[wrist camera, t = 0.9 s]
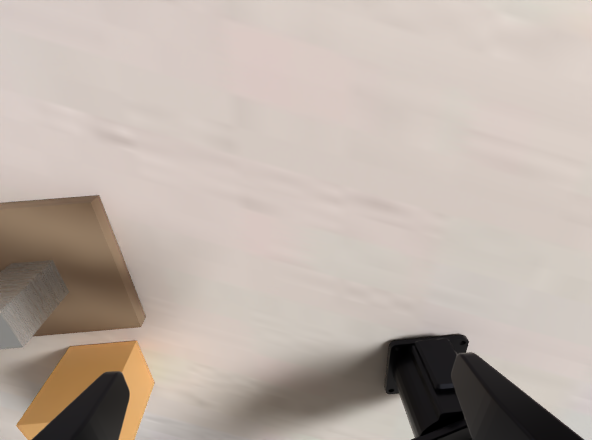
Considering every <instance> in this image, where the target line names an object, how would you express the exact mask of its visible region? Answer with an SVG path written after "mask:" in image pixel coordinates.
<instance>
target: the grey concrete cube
mask: <svg viewBox="0 0 592 440" xmlns="http://www.w3.org/2000/svg"><path fill="white" fill-rule="evenodd" d="M68 293H69V291H68V289H67V287H66V285H65V283H64V281H63V279H62V277H61V275H60V273H59V271H58V269H57V267H56V265H55V263H54V262H53V260H49V261H36V262H24V263H12V264H10V265H9V266H7V267H6V268H5V269H4V270H3V271H1V272H0V349H9V348H21V347H24V346H25V345H26V343H27V342H28V341H29V340H30V339H31V337H32V336H33V335H34V334H35V333H36V331H37V330H38V329H39V328H40V326H41V325H42V324H43V323H44V322H45V320H46V319H47V318H48V317H49V316H50V314H51V313H52V312H53V311H54V310H55V308H56V307H57V306H58V305H59V304H60V302H61V301H62V300H63V299H64V298H65V296H66V295H67V294H68Z"/></svg>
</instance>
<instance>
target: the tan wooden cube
mask: <svg viewBox="0 0 592 440" xmlns="http://www.w3.org/2000/svg"><path fill="white" fill-rule="evenodd" d="M111 371H120V372H122V373H123V375H124V378H125V380H126V383H127V385H128V388H129V391H130V398H129V403H128V406H127V410H126V414H125V418H124V422H123V425H122V429H121V433H120V437H119V440H134V439H135V436H136V433H137V430H138V428H139V425H140V422H141V419H142V416H143V414H144V411H145V408H146V405H147V402H148V400H149V397H150V394H151V391H152V388H153V386H154V380H153V378H152V376H151V373H150V371H149V369H148V366H147V364H146V362H145V359H144V357H143V355H142V352H141V350H140V347H139V345H138V343H137V341H128V342H116V343H105V344H93V345H82V346H70V347H69V348H68V350H67V351H66V353H65V354H64V356H63V357H62V359H61V360H60V362H59V363H58V365H57V366H56V368H55V369H54V370H53V372H52V373H51V375H50V376H49V378H48V379H47V381H46V382H45V384H44V385H43V387H42V388H41V390H40V391H39V393H38V394H37V396H36V397H35V398H34V400H33V401H32V403H31V404H30V406H29V407H28V409H27V410H26V412H25V413H24V415H23V416H22V418H21V419H20V421H19V422H18V423H17V425H16V426H17V427H18V429H19V430H20V431H21V432H22V433H23V435H24V436H25V437H26V438H27V439H28V440H32V439H33V438H34V437H35V436H36V435H37V434H38V433H39V432H40V431H41V430H42V429H43V428H44V427H46V426H47V425H48V424H49V423H50V422H51V421H52V420H53V419H54V418H55V417H56V416H57V415H58V414H59V413H61V412H62V411H63V410H64V409H65V408H66V407H67V406H68V405H69V404H70V403H71V402H72V401H73V400H75V399H76V398H77V397H78V396H79V395H80V394H81V393H82V392H83V391H84V390H85V389H86V388H87V387H88V386H90V385H91V384H92V383H93V382H94V381H95V380H96V379H97V378H98V377H99V376H100V375H101V374H103V373H105V372H111Z"/></svg>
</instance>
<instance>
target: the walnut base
mask: <svg viewBox="0 0 592 440" xmlns="http://www.w3.org/2000/svg"><path fill="white" fill-rule="evenodd" d="M49 260H53V262H54V263H55V265H56V267H57V269H58V271H59V273H60V275H61V277H62V279H63V281H64V283H65V285H66V287H67V289H68V291H69V293H68V294H67V295H66V296H65V298H64V299H63V300H62V301H61V302H60V304H59V305H58V306H57V307H56V308H55V310H54V311H53V312H52V313H51V314H50V316H49V317H48V318H47V319H46V320H45V322H44V323H43V324H42V325H41V326H40V328H39V329H38V330H37V331H36V333H35V334H34V335H33V336H43V335H54V334H66V333H77V332H89V331H101V330H112V329H124V328H135V327H141V326H142V324H143V322H144V320H145V318H146V316H145V313H144V311H143V308H142V306H141V303H140V300H139V298H138V295H137V293H136V290H135V287H134V285H133V282H132V280H131V277H130V274H129V272H128V269H127V267H126V264H125V261H124V259H123V256H122V254H121V251H120V248H119V246H118V243H117V241H116V238H115V236H114V233H113V230H112V228H111V225H110V223H109V220H108V217H107V215H106V212H105V210H104V207H103V204H102V202H101V199H100V197H99V195H97V196H84V197H71V198H58V199H46V200H33V201H20V202H7V203H0V272H1V271H3V270H4V269H5V268H6V267H7V266H9V265H10V264H12V263H24V262H36V261H49Z"/></svg>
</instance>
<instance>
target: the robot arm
mask: <svg viewBox="0 0 592 440" xmlns="http://www.w3.org/2000/svg"><path fill="white" fill-rule="evenodd" d="M468 343H469V341H468V339H467V338H466V336H464V335H455V336H444V337H432V338H421V339H410V340H398V341H393V342H391V343H390V344H389V351H388V360H387V369H386V379H385V390H386V393H387V394H397V393H399V394H400V397H401V400H402V403H403V405H404V408H405V411H406V414H407V417H408V420H409V422H410V425H411V428H412V431H413V434H414V437H415V438H414V439H412V440H584V439H583V438H581V437H580V436H579V435H578V434H576V433H575V432H574V431H573V430H571V429H570V428H569V427H568V426H566V425H565V424H564V423H562V422H561V421H560V420H559V419H557V418H556V417H555V416H554V415H552V414H551V413H550V412H549V411H547V410H546V409H545V408H543V407H542V406H541V405H540V404H538V403H537V402H536V401H535V400H533V399H532V398H531V397H530V396H528V395H527V394H526V393H525V392H523V391H522V390H521V389H519V388H518V387H517V386H516V385H514V384H513V383H512V382H511V381H509V380H508V379H507V378H506V377H504V376H503V375H502V374H500V373H499V372H498V371H497V370H495V369H494V368H493V367H492V366H490V365H489V364H488V363H487V362H485V361H484V360H483V359H482V358H480V357H479V356H478V355H476V354H474V353H471V352H469V353H466V350H467V347H468ZM129 398H130V391H129V388H128V385H127V383H126V380H125V378H124V375H123V373H122V372H120V371H111V372H105V373H103V374H101V375H100V376H99V377H98V378H97V379H96V380H95V381H94V382H93V383H92V384H91V385H90V386H88V387H87V388H86V389H85V390H84V391H83V392H82V393H81V394H80V395H79V396H78V397H77V398H76V399H75V400H73V401H72V402H71V403H70V404H69V405H68V406H67V407H66V408H65V409H64V410H63V411H62V412H61V413H59V414H58V415H57V416H56V417H55V418H54V419H53V420H52V421H51V422H50V423H49V424H48V425H47V426H46V427H44V428H43V429H42V430H41V431H40V432H39V433H38V434H37V435H36V436H35V437H34V438H33V439H32V440H119V437H120V433H121V429H122V425H123V422H124V418H125V414H126V410H127V406H128V403H129Z"/></svg>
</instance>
